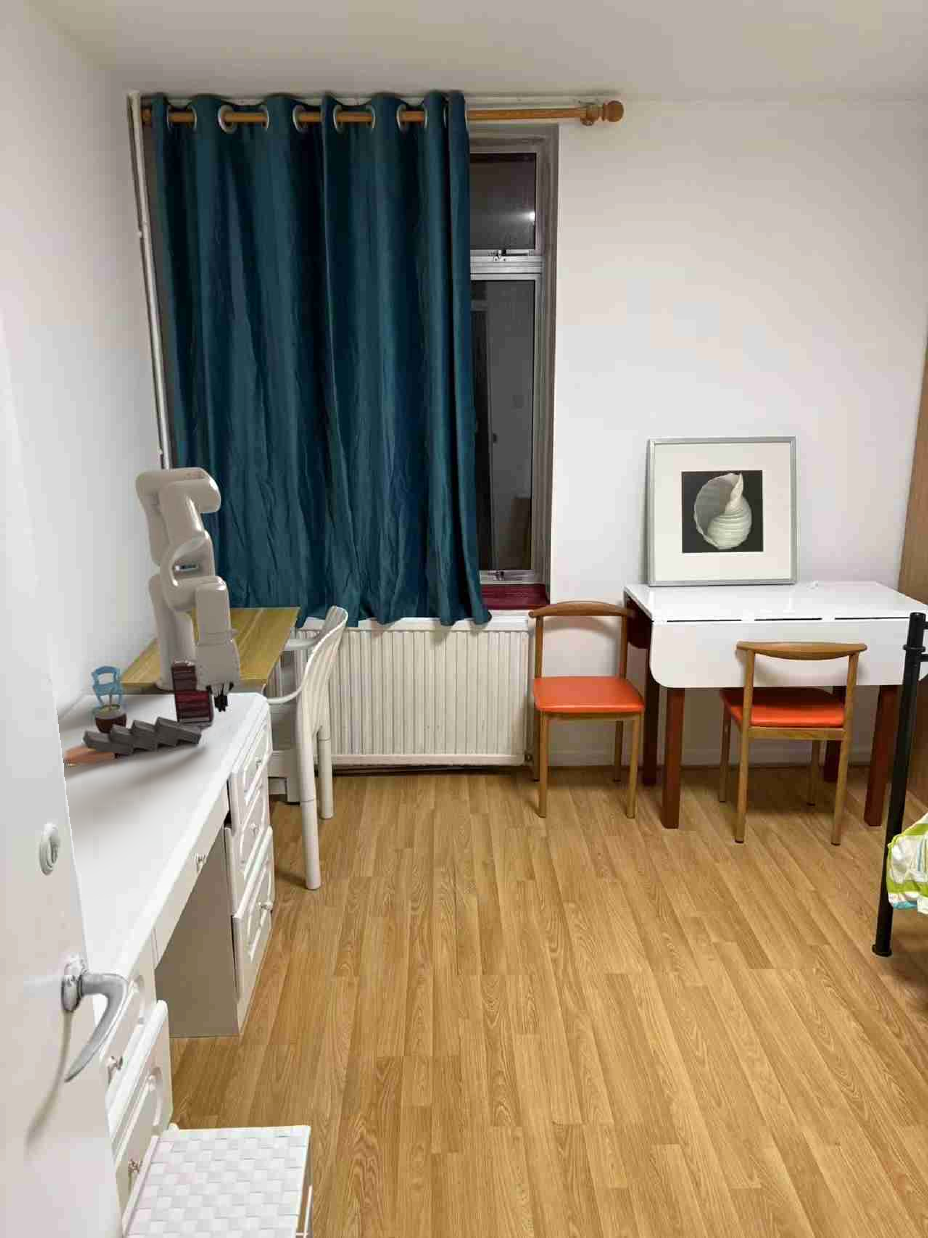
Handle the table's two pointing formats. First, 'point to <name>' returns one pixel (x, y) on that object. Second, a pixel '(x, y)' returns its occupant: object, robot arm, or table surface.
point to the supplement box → (190, 696)
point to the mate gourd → (110, 716)
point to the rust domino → (87, 755)
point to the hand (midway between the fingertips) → (221, 709)
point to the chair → (107, 685)
